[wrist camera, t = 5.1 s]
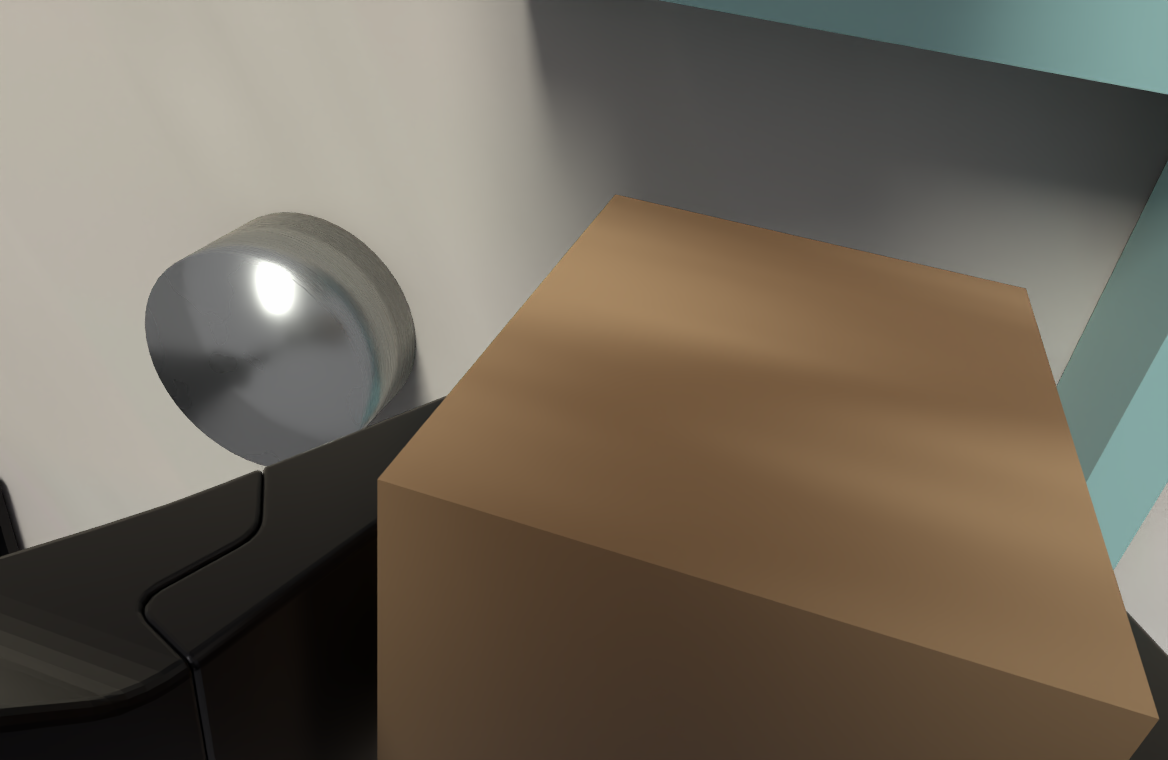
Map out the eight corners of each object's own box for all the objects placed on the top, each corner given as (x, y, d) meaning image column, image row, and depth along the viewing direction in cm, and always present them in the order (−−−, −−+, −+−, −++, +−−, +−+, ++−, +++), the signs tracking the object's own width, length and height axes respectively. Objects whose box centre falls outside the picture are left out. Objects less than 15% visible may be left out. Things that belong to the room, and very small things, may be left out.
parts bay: (972, 667, 23) (983, 781, 20) (473, 516, 26) (421, 598, 23) (1326, 9, 15) (1434, 45, 12) (523, -123, 17) (449, -120, 14)
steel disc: (415, 434, 25) (363, 496, 23) (229, 380, 26) (161, 434, 24) (421, 240, 22) (362, 288, 20) (210, 188, 23) (128, 227, 21)
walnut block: (1025, 288, 8) (1159, 718, 4) (892, 592, 10) (891, 1077, 6) (614, 194, 9) (376, 478, 5) (569, 496, 11) (377, 873, 7)
